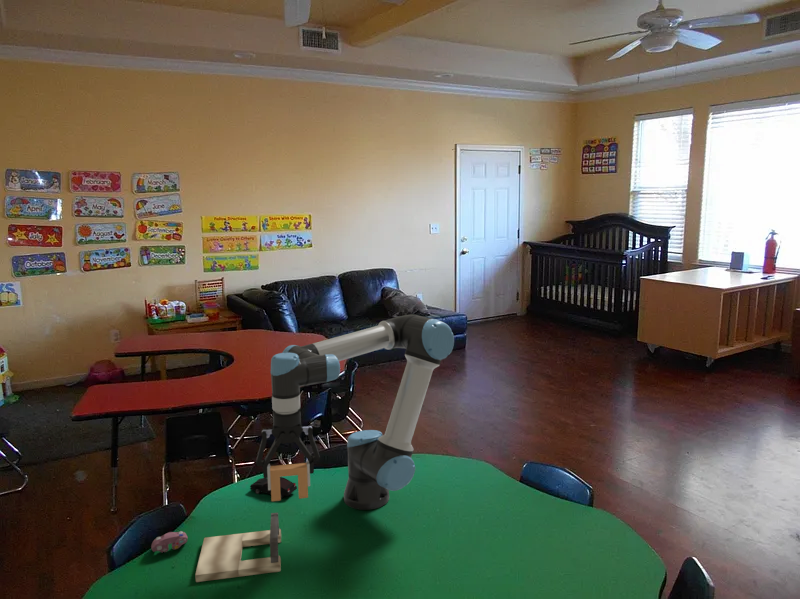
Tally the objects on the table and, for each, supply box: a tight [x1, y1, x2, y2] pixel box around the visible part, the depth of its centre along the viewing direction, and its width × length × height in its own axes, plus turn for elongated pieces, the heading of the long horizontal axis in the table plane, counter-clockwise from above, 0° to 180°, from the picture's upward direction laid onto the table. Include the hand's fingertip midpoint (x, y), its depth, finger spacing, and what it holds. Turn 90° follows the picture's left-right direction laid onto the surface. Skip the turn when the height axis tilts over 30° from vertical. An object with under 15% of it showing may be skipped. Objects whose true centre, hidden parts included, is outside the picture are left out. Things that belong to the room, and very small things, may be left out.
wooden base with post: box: [195, 512, 282, 583], centre depth 167 cm, size 22×18×8 cm
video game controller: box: [150, 530, 189, 554], centre depth 171 cm, size 10×5×7 cm, turn 118°
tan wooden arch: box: [270, 462, 309, 502], centre depth 166 cm, size 10×3×9 cm, turn 102°
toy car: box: [249, 476, 298, 500], centre depth 204 cm, size 7×16×5 cm, turn 68°
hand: (289, 486), depth 166 cm, fingers closed on tan wooden arch, 10 cm apart
